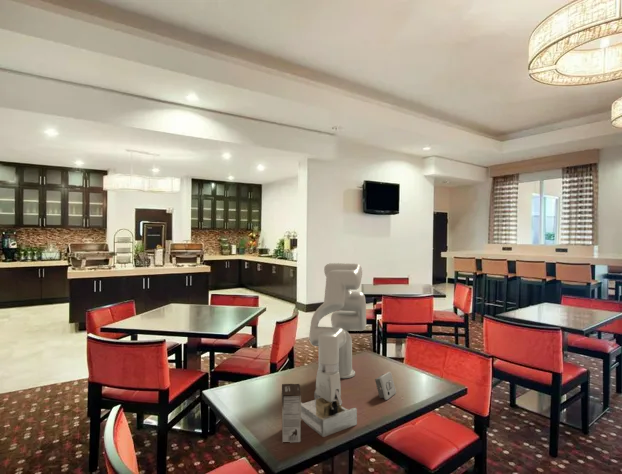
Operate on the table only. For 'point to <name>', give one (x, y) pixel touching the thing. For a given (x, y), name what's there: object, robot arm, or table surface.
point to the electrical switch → (385, 386)
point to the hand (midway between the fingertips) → (328, 415)
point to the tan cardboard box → (325, 407)
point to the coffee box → (291, 413)
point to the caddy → (327, 418)
